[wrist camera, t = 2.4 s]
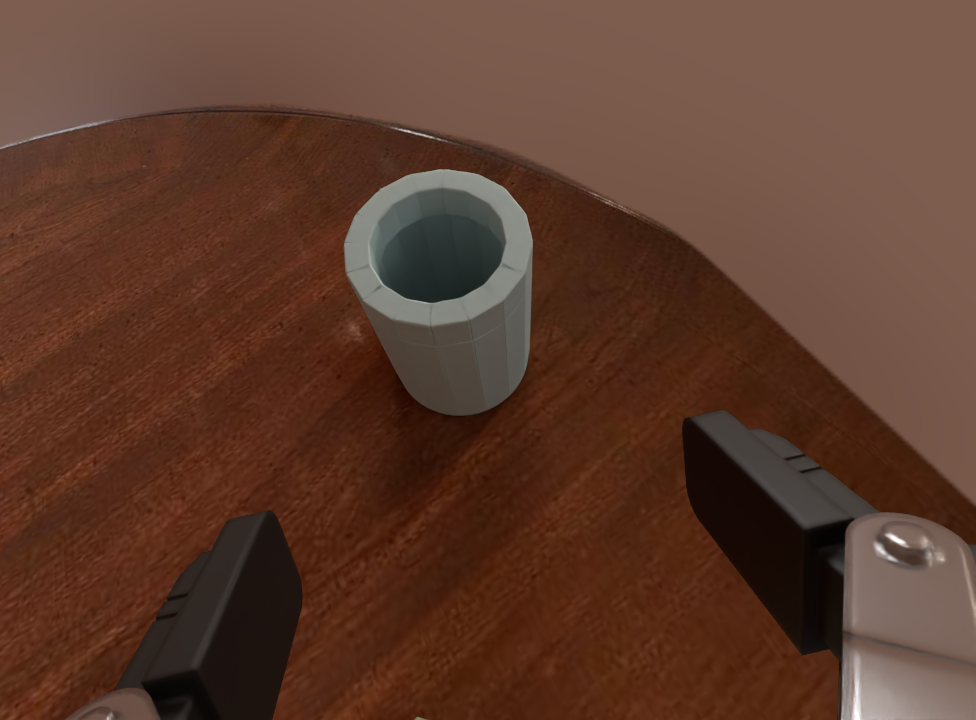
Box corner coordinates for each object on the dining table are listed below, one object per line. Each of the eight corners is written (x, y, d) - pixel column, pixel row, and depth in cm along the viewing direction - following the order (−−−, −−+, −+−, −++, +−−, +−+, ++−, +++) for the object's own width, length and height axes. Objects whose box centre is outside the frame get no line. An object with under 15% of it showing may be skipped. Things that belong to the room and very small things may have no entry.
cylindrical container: (539, 308, 28) (547, 183, 20) (512, 428, 26) (508, 341, 18) (417, 286, 29) (376, 158, 21) (380, 401, 27) (317, 306, 18)
